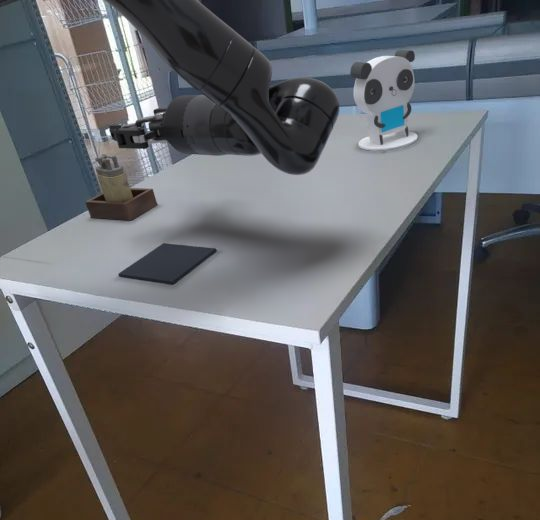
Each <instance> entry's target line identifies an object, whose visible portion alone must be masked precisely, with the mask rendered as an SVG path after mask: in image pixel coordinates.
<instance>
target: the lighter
mask: <svg viewBox="0 0 540 520" xmlns="http://www.w3.org/2000/svg"><path fill="white" fill-rule="evenodd" d="M110 159H111V160H110ZM94 160H95V162H96V163H98V164H99V165H97V166H95V172H96V177H97V180H98V182H99V185H100V187H101V191H102V192H101V193H103V194H104V197H105V200H106V201H111V202H127V201H129V200H130V199H132V198H133V196H132V193H131V189H130V188H131V187H130V183H129V181H128V177H127V174H126V172H125V171H124V168H123V165H121V164H119V162H118V158H117V155H112V156H109V155H107V154H105V153H104V154H101V155H100V156H96V157H95V159H94Z"/></svg>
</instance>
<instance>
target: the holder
mask: <svg viewBox="0 0 540 520" xmlns="http://www.w3.org/2000/svg"><path fill="white" fill-rule="evenodd" d="M130 189H131V193H132V196H133V198H132V199H130V200H129V201H127V202H111V201H106V200H105V197H104V194H103V192H101V193H99V194H97V195H95V196H94V197H92V198H90V199H87V200H86V201H84V203H85V206H86V208H87V211H88V213H89V217H90V218H91V219H103V220H104V219H105V220H116V221H118V220H119V221H133V220H134V219H136V218H138V217H140V216H141V215H144V213H145V214H146V212H148V211H149V210H151V209H153V208H155V207H156V206H158V202H157V198H156V196H155V192H154V191H155V190H154V188H146V187H145V188H143V187H142V188H140V187H130Z"/></svg>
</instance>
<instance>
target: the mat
mask: <svg viewBox="0 0 540 520" xmlns="http://www.w3.org/2000/svg"><path fill="white" fill-rule="evenodd" d="M216 252H217V248H215V247H207V246H206V247H205V246H197V245H196V246H195V245H194V246H193V245H185V244H176V243H166V242H163V243H161V244H160V245H159V246H157V247H155V248H154V249H152V250H151V251H150V252H148V253H147V254H144V256H142V257H140V258H139V259H137V261H135V262H133V263H132V264H130V265H129V266H127V267H126V268H124V269H123V270H121V271H120V272H119V273H118V275H117V276H118V277H121V278H122V277H123V278H129V279H134V280H135V279H137V280H141V281H142V280H143V281H149V282H155V283H161V284H162V283H163V284H168V285H174V284H176V283H177V282H178V281H180V280H181V279H182V278H183V277H184V276H186V275H187V274H188V273H190V272H191V271H193V270H194V269H195V268H197V266H200V264H201V263H203V262H204V261H205V260H207V259H208V258H209V257H211V256H212V255H213V254H214V253H216Z"/></svg>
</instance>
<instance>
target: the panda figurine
mask: <svg viewBox="0 0 540 520" xmlns="http://www.w3.org/2000/svg"><path fill="white" fill-rule="evenodd" d="M415 60H416V54H415V52H414V51H413V50H407V49H398V50H396V51H395V53H394V55H381V56H377V57H375V58H374V57H373V58H372V59H370V60H368V61H367V62H363V61H355V62H353V63H352V65H351V67H350V76H351V78H352V79H355V81H354V85H353V90H352V91H353V92H352V93H353V94H352V95H353V101H354V103H355V105H356V107H357V108H358V109H359V110H360V111H361V112H362V113H364V114H365V116H366V124H367V130H368V136H366V137H364V138H362V139H360V140H359V141H358V147H359V148H360V149H362V150H365V151H373V152H374V151H375V152H378V151H391V150H395V149H400V148H401V149H402V148H404V147H408V146H410V145H412V144H414V143H416V142H417V141H418V139H419V137H418V134H417V133H416V132H414V131H409V125H408V117H409V116H410V114H411V112H412V105H411V104H410V100H411V98H412V96H413V93H414V89H415V74H414V70H413V66H412V64H411V63H413V62H414V61H415Z"/></svg>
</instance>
